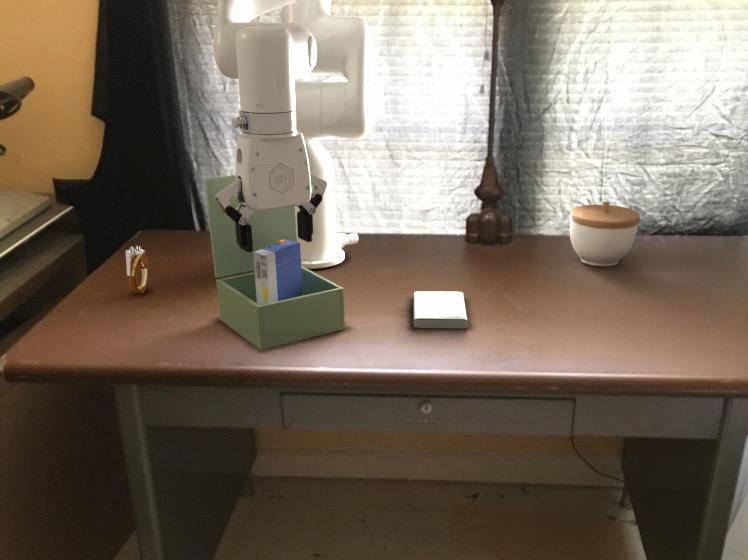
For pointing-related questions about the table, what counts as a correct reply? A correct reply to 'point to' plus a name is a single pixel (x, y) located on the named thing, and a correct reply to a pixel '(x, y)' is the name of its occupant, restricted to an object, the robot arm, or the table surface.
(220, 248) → the chest lid
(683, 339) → the table surface
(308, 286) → the chest
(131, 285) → the ring
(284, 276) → the walkman
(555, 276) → the table surface
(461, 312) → the hard drive
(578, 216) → the lidded bowl
